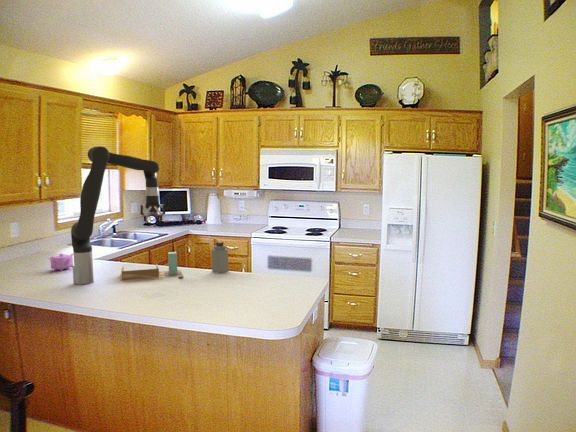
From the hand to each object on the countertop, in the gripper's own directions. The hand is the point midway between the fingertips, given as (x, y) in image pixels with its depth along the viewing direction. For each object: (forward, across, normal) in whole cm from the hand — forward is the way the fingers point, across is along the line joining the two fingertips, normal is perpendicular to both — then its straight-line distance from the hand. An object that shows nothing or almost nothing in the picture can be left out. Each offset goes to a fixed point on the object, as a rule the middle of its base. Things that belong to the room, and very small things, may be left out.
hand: (153, 221), depth 268 cm
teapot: (+30, -54, +22) cm, 65 cm away
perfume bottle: (+30, +37, -15) cm, 50 cm away
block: (+29, +10, -17) cm, 34 cm away
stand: (+30, -3, -17) cm, 35 cm away
